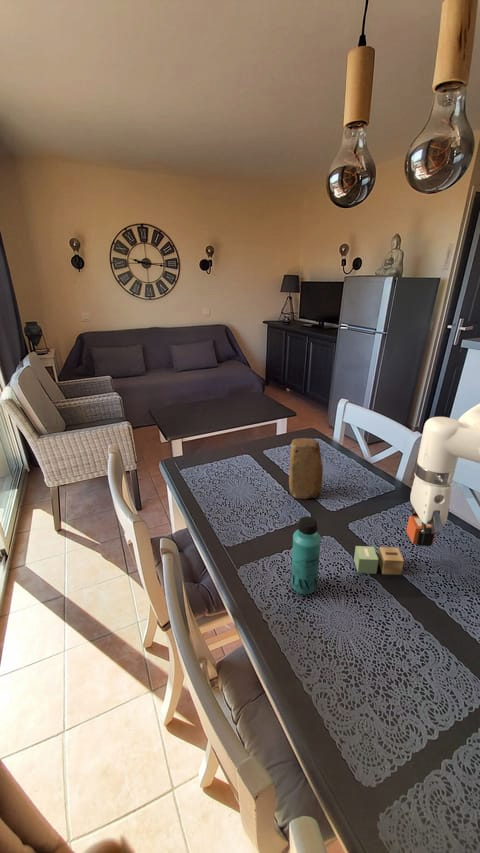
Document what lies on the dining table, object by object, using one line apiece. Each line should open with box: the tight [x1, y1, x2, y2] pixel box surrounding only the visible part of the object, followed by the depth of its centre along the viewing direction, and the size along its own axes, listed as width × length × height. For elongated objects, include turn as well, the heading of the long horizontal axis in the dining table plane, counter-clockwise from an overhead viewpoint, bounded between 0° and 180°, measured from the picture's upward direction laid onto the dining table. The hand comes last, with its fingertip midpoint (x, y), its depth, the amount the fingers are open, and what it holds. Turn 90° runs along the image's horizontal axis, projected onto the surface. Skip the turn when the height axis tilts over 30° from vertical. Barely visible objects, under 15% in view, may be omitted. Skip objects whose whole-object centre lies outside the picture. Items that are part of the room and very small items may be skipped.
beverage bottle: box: [289, 515, 322, 595], centre depth 83 cm, size 6×7×20 cm
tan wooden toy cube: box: [377, 546, 405, 576], centre depth 91 cm, size 5×5×5 cm
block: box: [288, 437, 324, 500], centre depth 119 cm, size 11×8×20 cm
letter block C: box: [405, 515, 436, 546], centre depth 86 cm, size 5×5×5 cm
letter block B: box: [353, 545, 379, 575], centre depth 91 cm, size 5×5×5 cm
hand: (419, 536), depth 87 cm, fingers closed on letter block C, 4 cm apart
